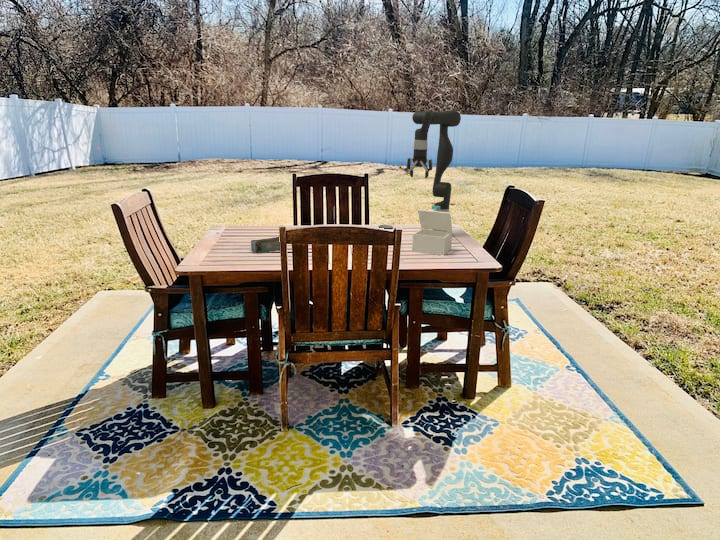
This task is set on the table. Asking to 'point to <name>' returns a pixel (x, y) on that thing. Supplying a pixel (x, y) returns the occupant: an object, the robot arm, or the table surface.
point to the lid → (435, 219)
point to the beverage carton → (265, 245)
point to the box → (432, 241)
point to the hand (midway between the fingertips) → (418, 177)
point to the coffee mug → (386, 226)
